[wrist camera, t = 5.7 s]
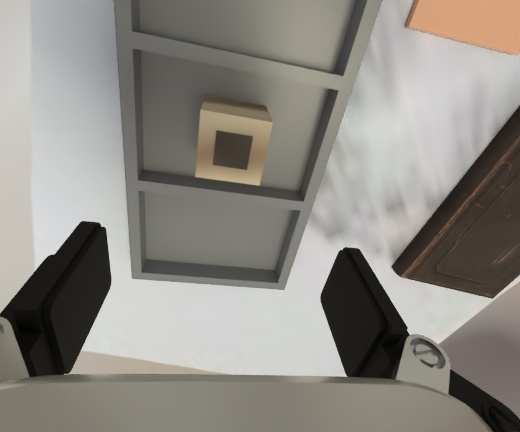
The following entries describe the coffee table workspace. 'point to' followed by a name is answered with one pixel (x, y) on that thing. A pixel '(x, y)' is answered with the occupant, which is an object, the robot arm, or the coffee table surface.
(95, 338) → the coffee table surface
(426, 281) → the hardcover book
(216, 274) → the grey organiser
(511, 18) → the terracotta tile
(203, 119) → the birch cube
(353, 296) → the robot arm
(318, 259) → the coffee table surface
